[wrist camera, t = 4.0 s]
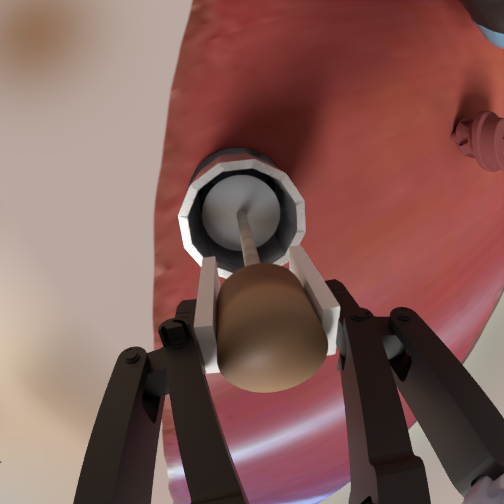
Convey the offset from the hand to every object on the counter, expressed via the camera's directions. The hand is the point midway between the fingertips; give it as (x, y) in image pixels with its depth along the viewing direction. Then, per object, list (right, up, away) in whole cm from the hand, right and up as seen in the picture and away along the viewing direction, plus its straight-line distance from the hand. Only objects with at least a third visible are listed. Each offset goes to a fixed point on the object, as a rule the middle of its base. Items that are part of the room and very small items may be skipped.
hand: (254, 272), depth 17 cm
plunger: (-1, +5, +12) cm, 13 cm away
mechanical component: (+37, +22, +19) cm, 47 cm away
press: (-2, +8, +21) cm, 22 cm away
